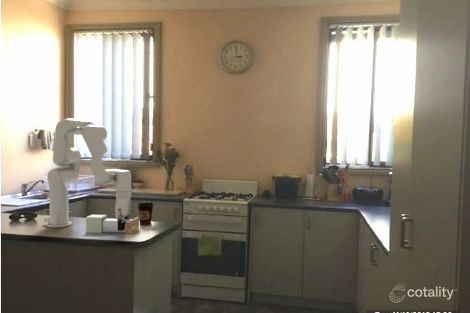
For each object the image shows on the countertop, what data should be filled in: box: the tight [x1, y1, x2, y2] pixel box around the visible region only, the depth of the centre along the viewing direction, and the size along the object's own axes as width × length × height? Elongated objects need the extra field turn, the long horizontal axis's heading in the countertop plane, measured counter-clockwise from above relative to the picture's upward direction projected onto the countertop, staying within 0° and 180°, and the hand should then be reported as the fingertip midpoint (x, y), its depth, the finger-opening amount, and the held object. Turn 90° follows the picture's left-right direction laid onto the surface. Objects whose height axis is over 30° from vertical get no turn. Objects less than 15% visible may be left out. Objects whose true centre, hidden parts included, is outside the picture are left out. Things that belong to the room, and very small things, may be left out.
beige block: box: [124, 216, 140, 235], centre depth 215 cm, size 4×9×7 cm, turn 173°
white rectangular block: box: [102, 218, 134, 234], centre depth 216 cm, size 17×4×6 cm, turn 83°
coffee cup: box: [137, 200, 154, 227], centre depth 233 cm, size 9×8×13 cm
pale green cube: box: [85, 214, 108, 234], centre depth 217 cm, size 8×7×8 cm
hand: (123, 228), depth 216 cm, fingers open, 7 cm apart
